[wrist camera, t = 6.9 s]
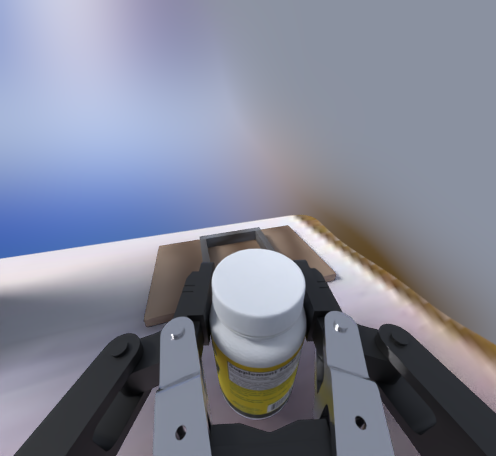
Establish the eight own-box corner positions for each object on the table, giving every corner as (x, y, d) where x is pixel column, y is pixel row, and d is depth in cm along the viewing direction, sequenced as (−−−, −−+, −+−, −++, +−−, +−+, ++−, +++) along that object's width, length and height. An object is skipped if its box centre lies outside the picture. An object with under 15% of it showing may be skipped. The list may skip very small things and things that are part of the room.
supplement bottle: (227, 332, 15) (219, 239, 10) (290, 339, 14) (307, 246, 10) (208, 415, 10) (182, 317, 6) (296, 431, 10) (329, 334, 6)
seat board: (146, 327, 17) (138, 308, 16) (160, 251, 27) (156, 237, 26) (334, 280, 22) (339, 263, 21) (287, 230, 32) (288, 217, 31)
